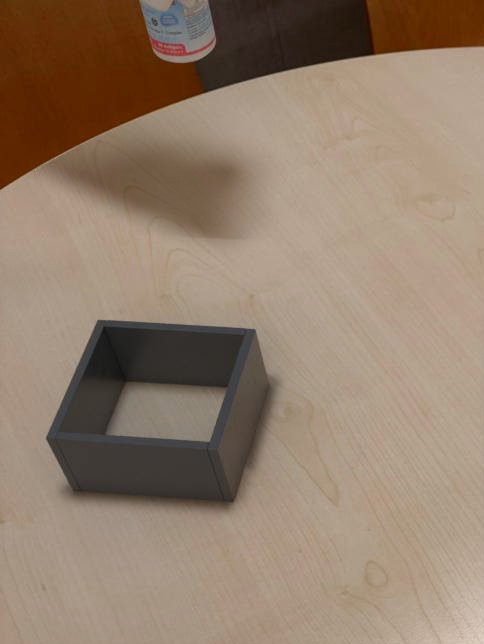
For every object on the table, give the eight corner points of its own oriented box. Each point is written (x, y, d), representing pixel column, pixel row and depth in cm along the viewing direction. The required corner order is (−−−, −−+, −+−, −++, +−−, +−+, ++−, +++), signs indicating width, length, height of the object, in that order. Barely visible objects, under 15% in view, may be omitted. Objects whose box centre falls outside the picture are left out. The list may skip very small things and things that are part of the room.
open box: (77, 501, 88) (45, 438, 82) (124, 385, 96) (97, 319, 89) (237, 512, 87) (216, 449, 81) (272, 394, 95) (255, 328, 88)
